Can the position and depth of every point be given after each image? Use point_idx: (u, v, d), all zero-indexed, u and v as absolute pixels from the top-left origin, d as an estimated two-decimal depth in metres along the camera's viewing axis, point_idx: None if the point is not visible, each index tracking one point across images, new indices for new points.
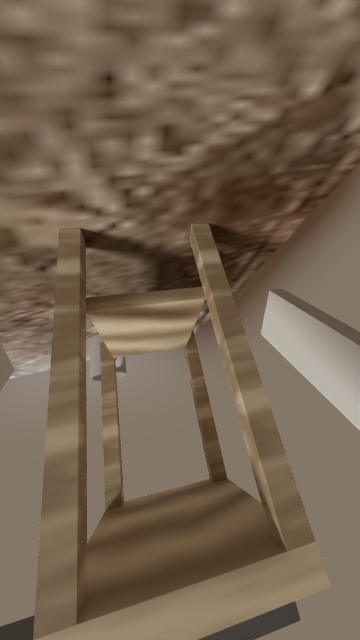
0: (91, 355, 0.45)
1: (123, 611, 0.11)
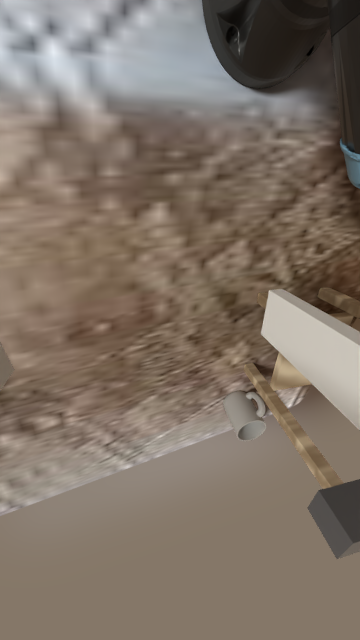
0: (232, 410, 0.52)
1: None
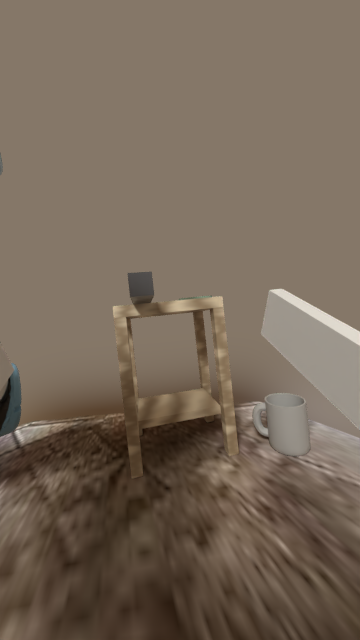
0: (287, 432, 0.39)
1: None
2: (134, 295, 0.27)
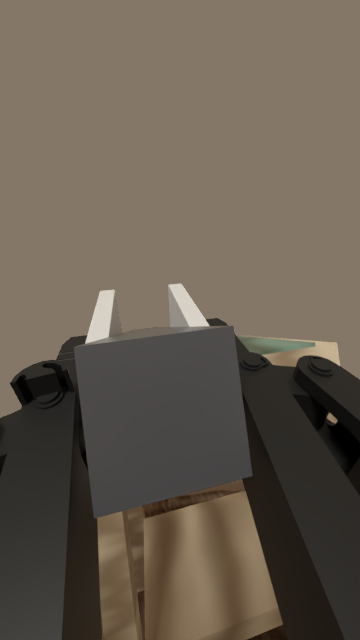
0: None
1: None
2: (125, 502, 0.04)
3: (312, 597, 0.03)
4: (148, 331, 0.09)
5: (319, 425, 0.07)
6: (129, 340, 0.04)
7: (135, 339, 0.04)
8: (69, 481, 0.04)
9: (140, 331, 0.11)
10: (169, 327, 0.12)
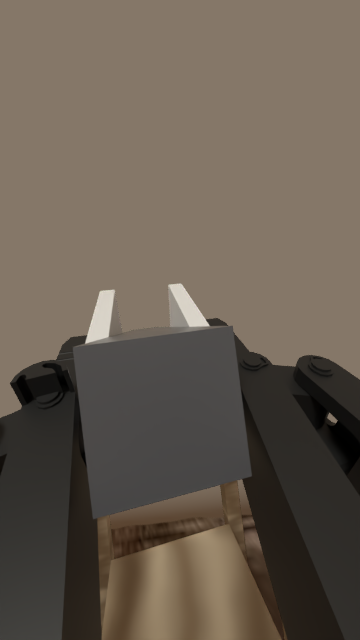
0: None
1: None
2: (124, 502, 0.04)
3: (313, 598, 0.03)
4: (148, 331, 0.09)
5: (319, 425, 0.07)
6: (128, 340, 0.04)
7: (134, 339, 0.04)
8: (69, 481, 0.04)
9: (140, 331, 0.11)
10: (169, 327, 0.12)
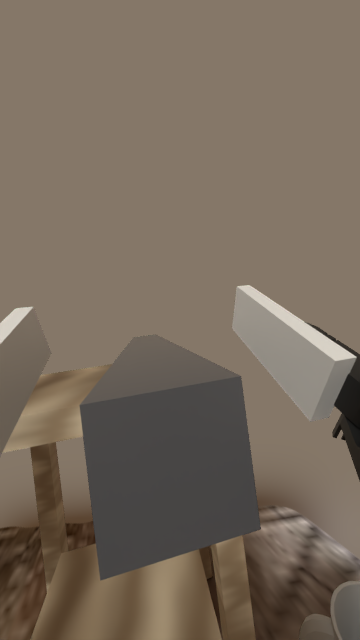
0: None
1: None
2: (131, 562, 0.04)
3: None
4: (151, 356, 0.09)
5: None
6: (136, 395, 0.04)
7: (142, 393, 0.04)
8: None
9: (142, 350, 0.11)
10: (171, 345, 0.12)
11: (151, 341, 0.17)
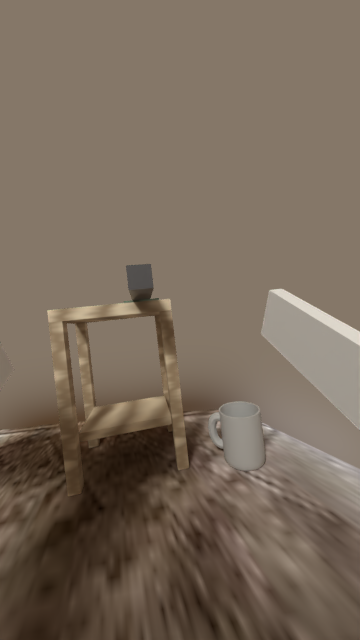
0: (237, 444, 0.36)
1: None
2: (133, 288, 0.26)
3: None
4: None
5: None
6: (134, 265, 0.27)
7: (134, 265, 0.27)
8: None
9: None
10: None
11: None
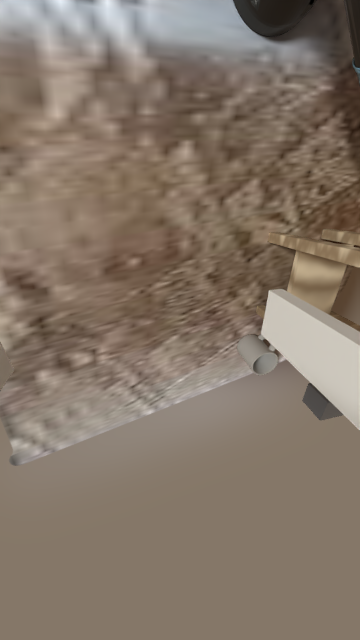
0: (247, 348, 0.57)
1: None
2: (308, 387, 0.27)
3: None
4: None
5: None
6: (325, 408, 0.25)
7: (325, 409, 0.25)
8: None
9: None
10: None
11: None
